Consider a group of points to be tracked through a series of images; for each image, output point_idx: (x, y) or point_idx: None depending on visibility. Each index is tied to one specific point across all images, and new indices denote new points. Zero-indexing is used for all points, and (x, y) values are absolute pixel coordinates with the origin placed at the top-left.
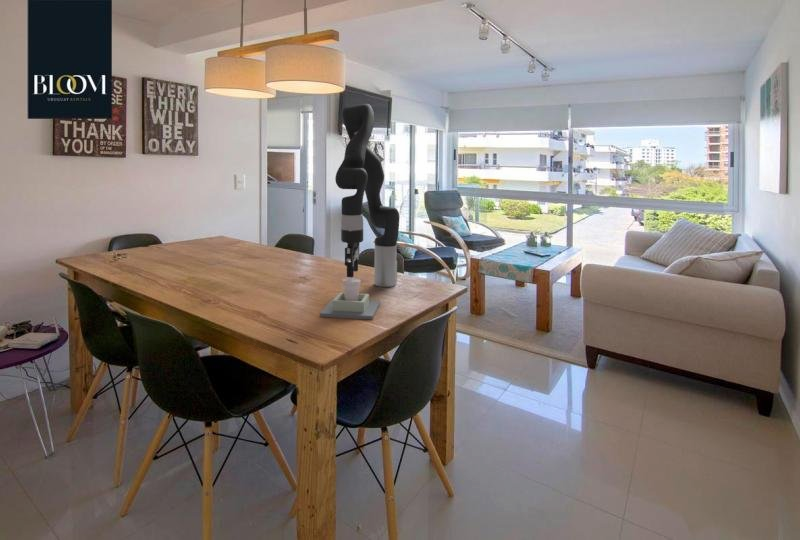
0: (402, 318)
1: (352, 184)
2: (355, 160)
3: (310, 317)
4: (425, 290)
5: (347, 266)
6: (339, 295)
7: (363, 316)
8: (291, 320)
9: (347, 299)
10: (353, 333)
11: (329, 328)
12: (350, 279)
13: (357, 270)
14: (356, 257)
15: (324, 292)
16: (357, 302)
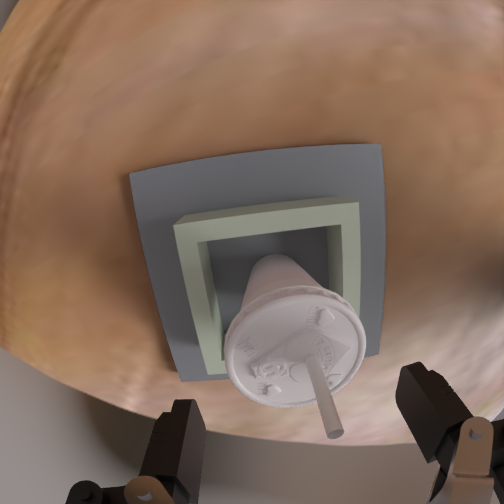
0: (231, 432)
1: None
2: None
3: (115, 140)
4: (486, 388)
5: (132, 483)
6: (296, 222)
7: (172, 352)
8: (69, 95)
9: (247, 285)
10: (53, 342)
11: (47, 265)
12: (301, 355)
13: (397, 404)
14: (429, 497)
15: (469, 87)
16: (201, 349)
